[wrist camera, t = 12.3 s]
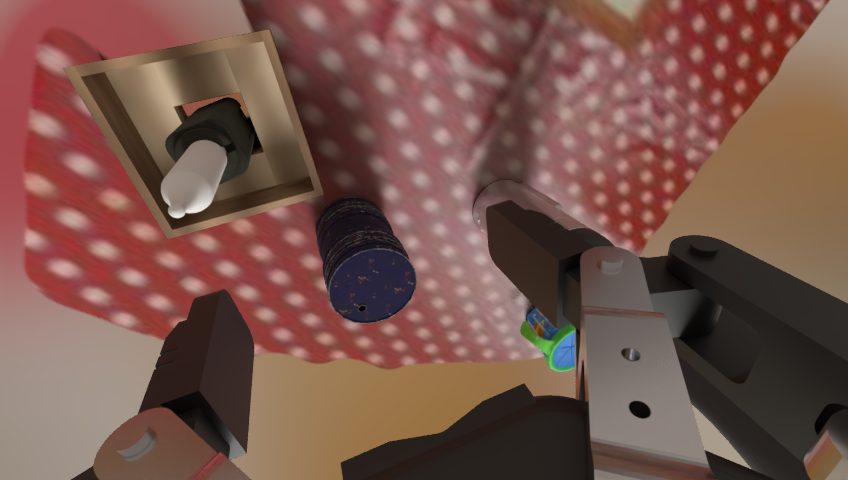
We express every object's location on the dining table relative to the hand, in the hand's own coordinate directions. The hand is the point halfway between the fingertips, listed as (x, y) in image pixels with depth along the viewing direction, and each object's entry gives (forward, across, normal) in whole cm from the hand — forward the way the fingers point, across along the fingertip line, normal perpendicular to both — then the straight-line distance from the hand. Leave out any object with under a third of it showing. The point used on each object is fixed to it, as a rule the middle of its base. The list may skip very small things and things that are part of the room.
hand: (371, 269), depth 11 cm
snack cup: (+38, -32, +49) cm, 70 cm away
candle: (+38, +9, +1) cm, 39 cm away
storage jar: (+38, -1, +18) cm, 42 cm away
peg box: (+38, +9, +1) cm, 39 cm away
